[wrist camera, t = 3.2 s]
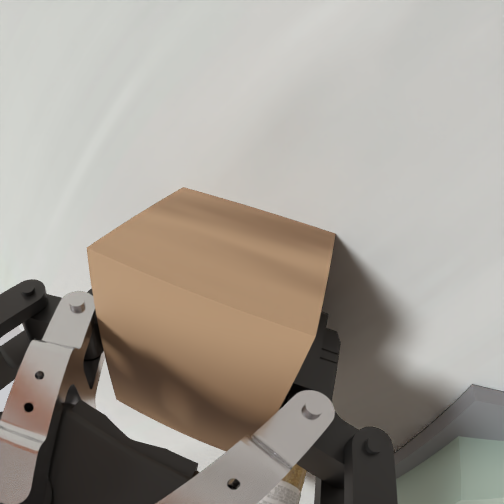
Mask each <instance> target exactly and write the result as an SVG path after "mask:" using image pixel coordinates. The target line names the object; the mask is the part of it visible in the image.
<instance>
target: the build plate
mask: <svg viewBox="0 0 504 504" xmlns="http://www.w3.org/2000/svg"><path fill="white" fill-rule="evenodd" d="M394 462H395V473H396V485H397V501H398V504H504V392H502V391H498V390H493V389H489V388H485V387H481V386H476V385H471V386H470V387H469V388H468V389H467V390H466V391H465V392H464V393H463V394H462V395H461V396H460V397H459V398H458V399H457V400H456V401H455V402H454V403H453V404H452V405H451V406H450V407H449V408H448V409H447V410H446V411H445V412H444V413H443V414H442V415H440V416H439V417H438V418H437V419H436V420H435V421H434V422H433V423H431V424H430V425H429V426H428V427H427V428H426V429H424V430H423V431H422V432H421V433H420V434H418V435H417V436H416V437H415V438H414V439H412V440H411V441H410V442H409V443H407V444H406V445H405V446H403V447H402V448H401V449H400V450H398V451H397V452H396V453H394Z"/></svg>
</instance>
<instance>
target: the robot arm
mask: <svg viewBox="0 0 504 504" xmlns="http://www.w3.org/2000/svg"><path fill="white" fill-rule="evenodd" d="M327 318H328V314H327V313H324V312H321V315H320V319H319V324H318V328H317V333H316V337H315V339H314V341H313V343H312V345H311V347H310V350H309V352H308V354H307V356H306V358H305V360H304V362H303V364H302V366H301V368H300V370H299V372H298V374H297V376H296V378H295V380H294V382H293V384H292V386H291V388H290V390H289V392H288V393H287V395H286V397H285V399H284V401H283V403H282V405H281V407H280V409H279V410H278V412H277V413H276V414H275V415H274V416H272V417H271V418H270V419H269V420H268V421H267V422H266V423H265V424H264V425H263V426H261V427H260V428H259V429H258V430H257V431H256V432H255V433H253V434H252V435H247V436H246V437H244V438H243V439H241V440H240V441H239V442H238V443H236V444H235V445H234V446H233V447H232V448H230V449H229V450H228V451H227V452H225V453H224V454H223V455H222V456H220V457H219V458H218V459H217V460H215V461H214V462H213V463H212V464H210V465H209V466H208V467H206V468H205V469H204V470H202V471H201V472H198V471H197V467H198V463H196V462H193V461H191V460H189V459H187V458H184V457H182V456H180V455H178V454H176V453H174V452H171V451H169V450H167V449H165V448H160V447H156V446H153V445H149V444H145V443H141V442H138V441H134V440H131V439H130V438H128V437H127V436H126V435H125V434H124V433H123V432H122V431H121V430H120V429H119V428H117V427H116V426H115V425H114V424H113V423H112V422H111V421H110V420H109V419H108V418H107V416H106V415H104V414H102V413H101V412H99V411H98V410H96V404H95V395H96V390H97V386H98V381H99V377H100V373H101V369H102V365H103V361H104V358H105V354H104V349H103V345H102V340H101V336H100V331H99V326H98V321H97V315H96V310H95V304H94V298H93V292H92V289H90V290H89V291H88V292H83V291H75V292H71V293H69V294H67V295H65V296H64V297H63V298H61V297H56V296H52V295H48V294H46V290H45V286H44V284H43V283H42V282H40V281H38V280H32V279H31V280H26V281H23V282H21V283H19V284H17V285H16V286H14V287H12V288H10V289H9V290H7V291H5V292H4V293H2V294H0V338H1V337H2V336H3V335H5V334H6V333H8V332H9V331H11V330H12V329H14V328H15V327H17V326H18V325H20V324H23V326H24V329H25V330H24V331H23V332H21V333H20V334H18V335H17V336H15V337H14V338H12V339H11V340H9V341H8V342H6V343H5V344H4V345H2V346H0V390H1V389H2V388H4V387H5V386H6V385H8V384H9V383H10V382H11V381H13V380H14V379H15V380H14V383H13V385H12V388H11V391H10V394H9V396H8V399H7V402H6V405H5V408H4V411H3V412H0V504H257V503H258V502H259V501H260V500H262V499H263V498H264V497H265V496H266V495H267V494H268V493H269V492H270V491H271V490H272V489H273V488H274V487H275V486H276V485H277V484H278V483H279V482H280V481H281V480H282V479H283V478H284V477H285V476H286V475H287V474H288V472H289V471H290V470H291V469H292V467H293V466H294V465H295V464H297V465H299V466H300V467H302V468H303V469H305V470H307V471H308V472H310V473H311V474H313V475H315V476H316V483H315V500H314V504H398V501H397V485H396V473H395V462H394V453H393V445H392V442H391V439H390V438H389V436H388V435H387V434H386V433H385V432H384V431H382V430H381V429H378V428H375V427H365V428H362V429H360V430H358V429H356V428H354V427H353V426H351V425H349V424H348V423H346V422H345V421H343V420H342V419H341V418H340V417H339V416H338V415H337V413H336V412H335V410H334V406H333V404H332V395H333V389H334V383H335V377H336V371H337V363H338V357H339V356H338V355H339V350H340V340H339V337H338V334H337V331H334V330H331V329H328V328H326V323H327Z"/></svg>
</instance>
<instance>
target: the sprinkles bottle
mask: <svg viewBox="0 0 504 504" xmlns="http://www.w3.org/2000/svg"><path fill="white" fill-rule="evenodd" d="M306 472H307V470H305V469H303V468H302V467H300V466H299V465H297V464H295V465H294V466H293V467H292V469H291V470H290V471H289V472H288V474H287V475H286V476H285V477H284V478H283V479H282V480H281V481H280V482H279V483H278V484H277V485H276V486H275V487H274V488H273V489H272V490H271V491H270V492H269V493H268V494H267V495H266V496H265V497H264V498H263V499H262V500H260V501H259V502H258V503H257V504H299V501H300V497H301V490H302V487H303V483H304V479H305V475H306Z"/></svg>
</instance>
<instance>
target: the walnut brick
mask: <svg viewBox="0 0 504 504" xmlns="http://www.w3.org/2000/svg"><path fill="white" fill-rule="evenodd" d="M335 235H336V234H335V233H332V232H329V231H326V230H323V229H319V228H316V227H313V226H310V225H307V224H304V223H301V222H298V221H295V220H292V219H288V218H285V217H282V216H279V215H276V214H272V213H269V212H266V211H263V210H259V209H256V208H253V207H250V206H246V205H243V204H240V203H236V202H233V201H229V200H226V199H223V198H219V197H216V196H212V195H209V194H205V193H202V192H198V191H195V190H191V189H188V188H184V187H183V188H181V189H179V190H178V191H176V192H174V193H173V194H171V195H169V196H167V197H166V198H164V199H162V200H161V201H159V202H157V203H156V204H154V205H152V206H151V207H149V208H147V209H146V210H144V211H143V212H141V213H139V214H138V215H136V216H134V217H133V218H131V219H130V220H128V221H127V222H125V223H123V224H122V225H120V226H119V227H117V228H116V229H114V230H113V231H111V232H110V233H108V234H106V235H105V236H103V237H102V238H100V239H99V240H97V241H96V242H94V243H93V244H92V245H90V246H89V247H87V254H88V263H89V271H90V278H91V285H92V292H93V298H94V304H95V310H96V315H97V321H98V326H99V331H100V336H101V340H102V345H103V349H104V354H105V358H106V362H107V366H108V370H109V374H110V378H111V382H112V385H113V389H114V392H115V396H116V399H117V400H119V401H120V402H122V403H124V404H126V405H127V406H129V407H131V408H133V409H135V410H136V411H138V412H140V413H142V414H144V415H146V416H148V417H150V418H152V419H154V420H156V421H158V422H160V423H162V424H164V425H166V426H168V427H170V428H172V429H174V430H176V431H179V432H181V433H183V434H185V435H187V436H190V437H192V438H194V439H197V440H199V441H201V442H204V443H206V444H209V445H211V446H214V447H216V448H219V449H221V450H224V451H228V450H229V449H230V448H232V447H233V446H234V445H235V444H236V443H238V442H239V441H240V440H241V439H243V438H244V437H246V436H247V435H252V434H253V433H255V432H256V431H257V430H258V429H259V428H260V427H261V426H263V425H264V424H265V423H266V422H267V421H268V420H269V419H270V418H271V417H272V416H274V415H275V414H276V413H277V412H278V410H279V409H280V407H281V405H282V403H283V401H284V399H285V397H286V395H287V393H288V392H289V390H290V388H291V386H292V384H293V382H294V380H295V378H296V376H297V374H298V372H299V370H300V368H301V366H302V364H303V362H304V360H305V358H306V356H307V354H308V352H309V350H310V347H311V345H312V343H313V341H314V339H315V337H316V333H317V328H318V324H319V319H320V315H321V310H322V305H323V300H324V295H325V290H326V285H327V280H328V275H329V269H330V264H331V258H332V252H333V247H334V241H335Z"/></svg>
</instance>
